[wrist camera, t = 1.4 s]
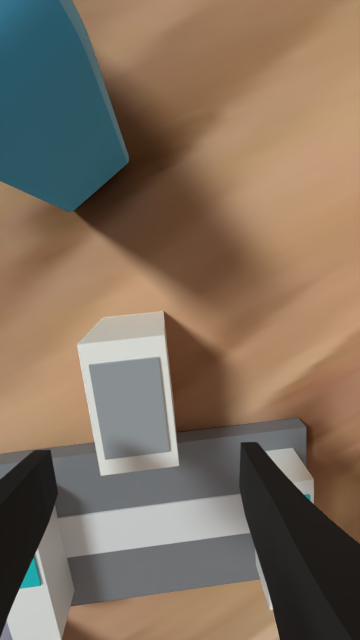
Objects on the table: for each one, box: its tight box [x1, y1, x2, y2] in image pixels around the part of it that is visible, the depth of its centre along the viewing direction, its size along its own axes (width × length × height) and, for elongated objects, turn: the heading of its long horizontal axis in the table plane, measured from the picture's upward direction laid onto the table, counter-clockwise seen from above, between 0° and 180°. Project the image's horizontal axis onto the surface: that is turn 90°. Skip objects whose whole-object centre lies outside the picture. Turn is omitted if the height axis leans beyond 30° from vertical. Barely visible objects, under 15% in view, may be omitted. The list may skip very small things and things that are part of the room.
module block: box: [77, 311, 179, 476], centre depth 17 cm, size 4×7×6 cm, turn 5°
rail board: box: [0, 418, 314, 640], centre depth 20 cm, size 22×13×4 cm, turn 95°
